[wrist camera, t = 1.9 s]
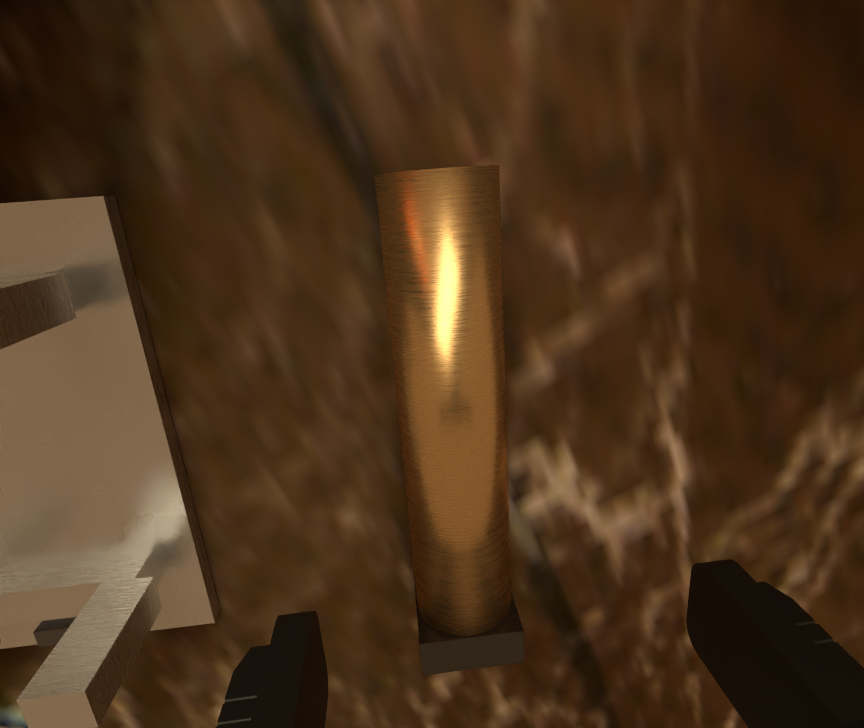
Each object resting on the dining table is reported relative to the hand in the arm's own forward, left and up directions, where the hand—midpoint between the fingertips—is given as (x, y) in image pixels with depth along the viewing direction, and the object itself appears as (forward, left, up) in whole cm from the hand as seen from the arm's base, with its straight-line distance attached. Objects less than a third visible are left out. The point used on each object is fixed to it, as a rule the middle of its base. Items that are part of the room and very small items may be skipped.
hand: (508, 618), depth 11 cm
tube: (0, 0, -11) cm, 11 cm away
